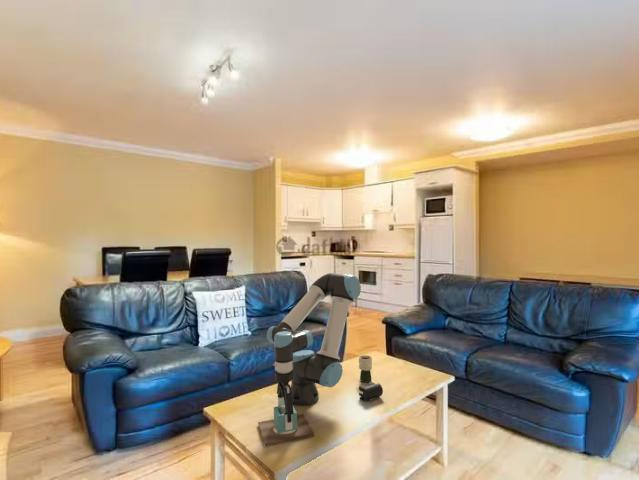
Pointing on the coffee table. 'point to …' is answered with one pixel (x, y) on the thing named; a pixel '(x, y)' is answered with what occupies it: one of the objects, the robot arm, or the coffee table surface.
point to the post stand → (274, 438)
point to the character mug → (365, 367)
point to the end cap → (370, 391)
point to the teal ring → (283, 420)
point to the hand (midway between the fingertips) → (285, 420)
